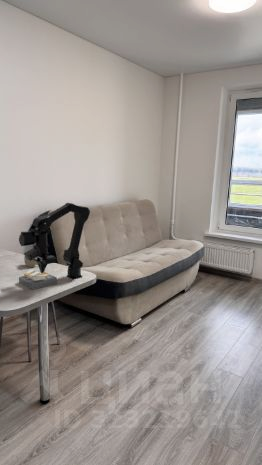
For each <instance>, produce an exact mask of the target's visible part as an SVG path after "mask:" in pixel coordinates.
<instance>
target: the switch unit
mask: <svg viewBox="0 0 262 465" xmlns="http://www.w3.org/2000/svg"><path fill="white" fill-rule="evenodd" d="M38 272H39V273H40V275H44V276H45V279H42V280H37V281H35V280H33V279H30V278H27V277H25V276H24V275H22V276H21V275H20V276H19V277H18V283H20V284H22V285H23V286H25V287H27V288H28V289H30V290H31V291H32V290H37V289H39V288H44V287H47V286H51V285H54V284H57V283H58V280H57V279H58V278H57V276H54V275H52V274H50V273H48V272H45V271H44V273H41V272H40V271H38Z"/></svg>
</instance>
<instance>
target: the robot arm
mask: <svg viewBox="0 0 262 465" xmlns="http://www.w3.org/2000/svg"><path fill="white" fill-rule="evenodd" d="M69 213H73V218H74V225H73V229H72V234H71V239H70V243H69V247H68V248H67V249H64V251H63V256H62V259H63V261H64V263H65V264H66V266H68V267H67V275H66V277H68V278H69V279H71V280H76V279H78V278H82V277H83V275H82V270H81V268H82V267H83V265H84V263H83V261H81V260H80V252H79V247H80V243H81V239H82V235H83V230H84V226H85V225H84V224H85V223H86V222H87V221H88V219H89V216H90V214H91V210H90V209H89V207H88V206H83V205H77V204H74V203H71V202H66V203H65V204H63V205H62V206H59V207H58V208H55V210H53V211H51V212H49V213H47V214H44V215H40V216H37V217H35V218H34V219H33V220H32V223H31V225H30V227H29V229H28V231H20V235H19V237H18V243H19V245H20V246H21V247H26V246H31V245H33V246H32V249H31V248H30V249H29V250H27V251H25V252H23V254H24V256H25V257H26V259H27V260H29V261H31V260H34V261H36V262H37V264H38V265H37V266H38V269H39V272H41V273H44V272H45V271H46V268H47V266H48V265H50V264H54V263H55V264H56V263H57V262H58V259H57V257H56V256H54V255H52V254H51V255H50V252H48V248H49V247H50V244H48V235H49V234H51V233H52V232H51V231H50V230H49V228H50V227H51V226H52V224H53V223H54V222H55V221H58V220H59V219H61V218H62V217H64V216H65V215H67V214H69Z"/></svg>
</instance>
